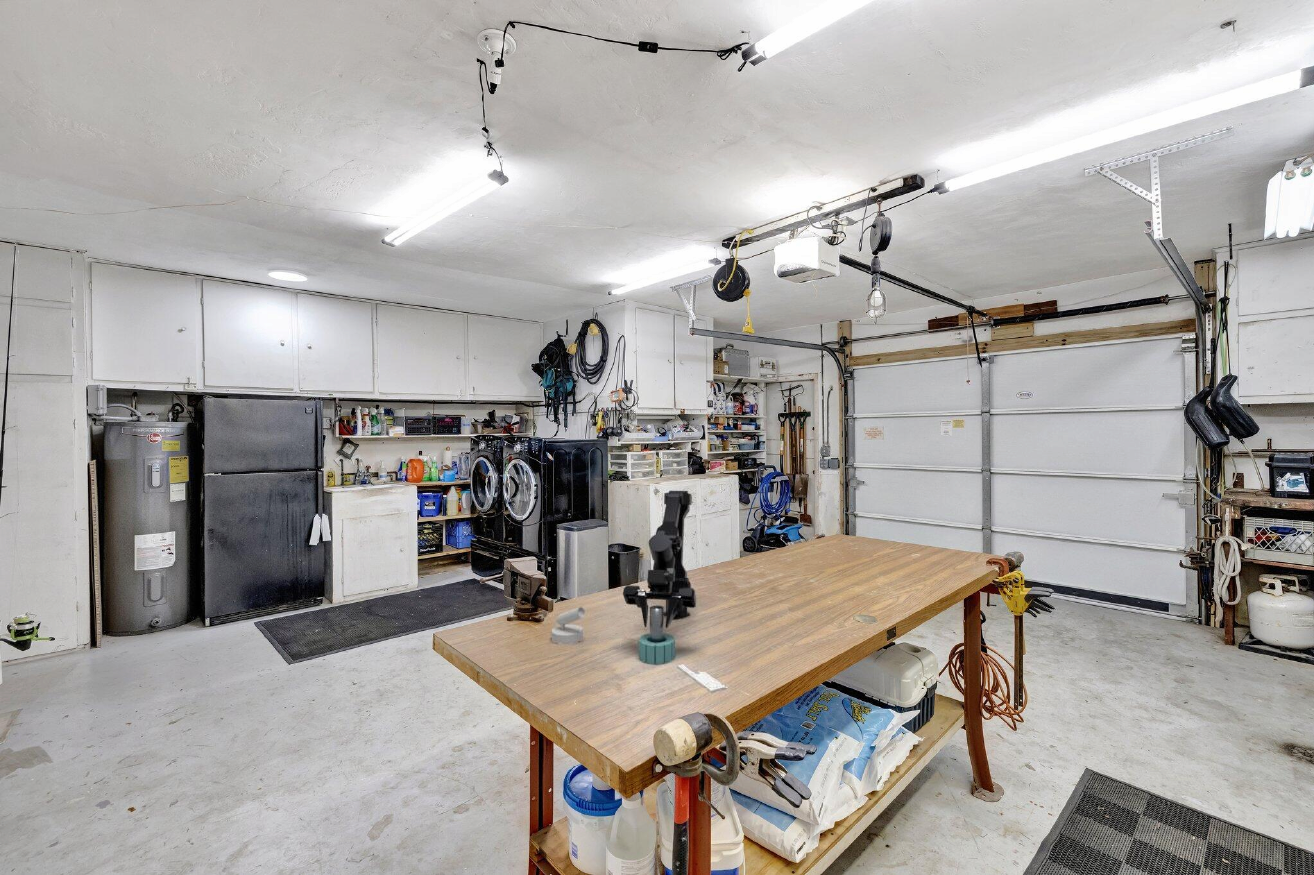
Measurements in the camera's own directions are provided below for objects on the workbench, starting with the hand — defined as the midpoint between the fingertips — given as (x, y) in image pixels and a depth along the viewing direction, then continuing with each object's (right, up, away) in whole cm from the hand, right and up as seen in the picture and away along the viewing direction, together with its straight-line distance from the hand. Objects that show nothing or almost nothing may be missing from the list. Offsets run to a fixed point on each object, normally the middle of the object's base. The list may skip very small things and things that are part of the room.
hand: (655, 627), depth 139 cm
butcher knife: (+11, -9, -11) cm, 17 cm away
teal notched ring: (0, -8, +1) cm, 8 cm away
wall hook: (-24, -8, +14) cm, 29 cm away
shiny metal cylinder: (0, -8, +1) cm, 8 cm away
